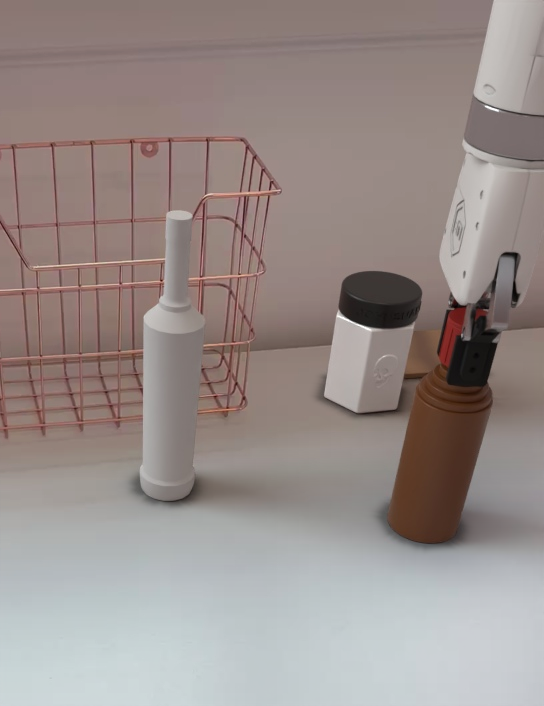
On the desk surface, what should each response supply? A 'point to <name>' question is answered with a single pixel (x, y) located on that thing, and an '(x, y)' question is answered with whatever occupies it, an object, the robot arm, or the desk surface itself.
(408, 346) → the jar
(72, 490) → the desk surface
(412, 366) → the coaster
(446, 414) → the bottle
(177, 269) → the bottle
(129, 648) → the desk surface
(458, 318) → the cap
